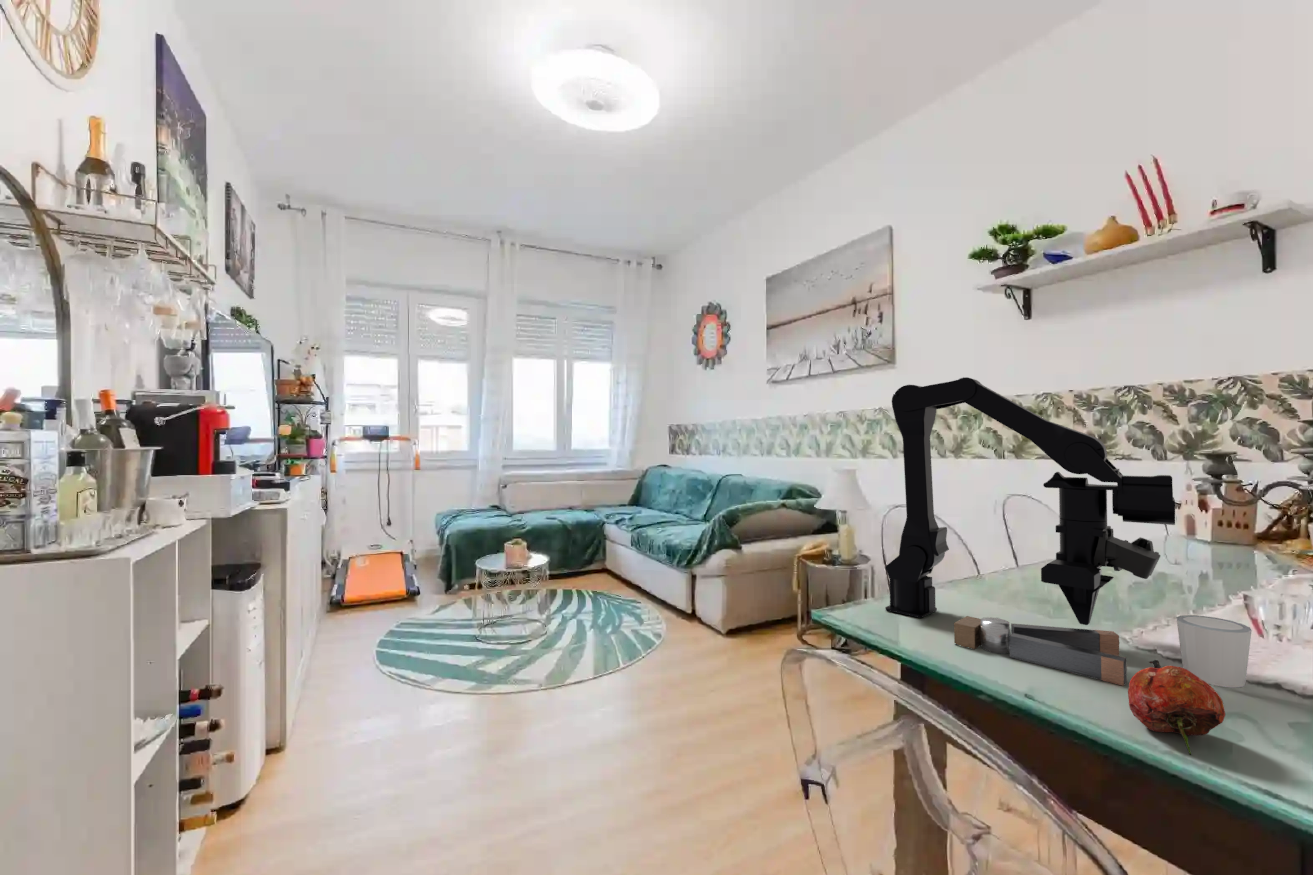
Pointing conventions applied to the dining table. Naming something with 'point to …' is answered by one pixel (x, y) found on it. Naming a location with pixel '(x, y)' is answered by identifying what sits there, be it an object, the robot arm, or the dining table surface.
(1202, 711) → the wrinkled red fruit
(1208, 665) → the white cup
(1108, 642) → the bar
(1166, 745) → the dining table surface
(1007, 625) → the frame
